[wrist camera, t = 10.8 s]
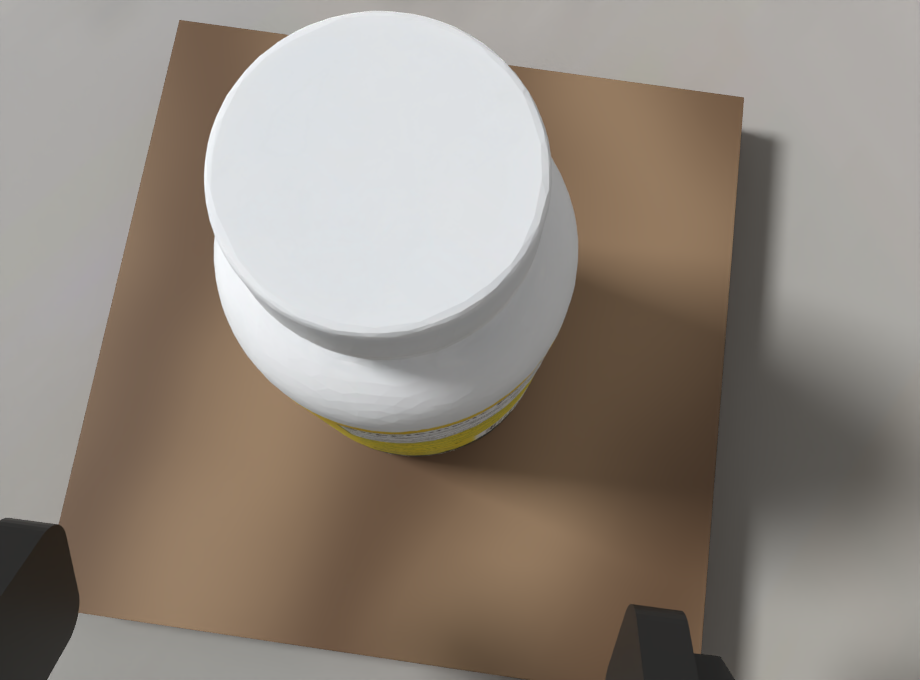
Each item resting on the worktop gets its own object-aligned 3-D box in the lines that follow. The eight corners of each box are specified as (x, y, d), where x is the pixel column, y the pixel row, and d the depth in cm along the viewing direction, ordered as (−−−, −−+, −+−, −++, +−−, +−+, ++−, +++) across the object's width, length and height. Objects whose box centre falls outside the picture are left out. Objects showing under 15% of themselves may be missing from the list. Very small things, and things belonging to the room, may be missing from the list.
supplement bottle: (286, 242, 19) (127, -26, 10) (516, 215, 20) (581, -75, 10) (308, 476, 18) (153, 431, 9) (552, 444, 18) (662, 364, 9)
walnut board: (70, 599, 19) (38, 607, 18) (197, 53, 22) (179, 20, 21) (677, 690, 19) (696, 704, 17) (724, 125, 22) (743, 97, 20)
